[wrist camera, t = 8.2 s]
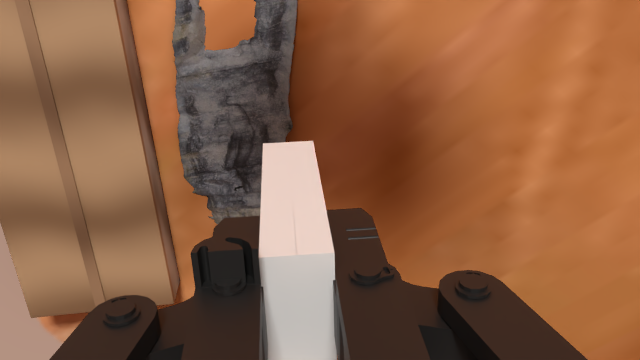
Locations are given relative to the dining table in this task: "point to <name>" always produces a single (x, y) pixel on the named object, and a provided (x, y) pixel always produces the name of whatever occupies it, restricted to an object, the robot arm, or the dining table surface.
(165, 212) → the floorboard
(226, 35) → the dining table surface
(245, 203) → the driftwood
